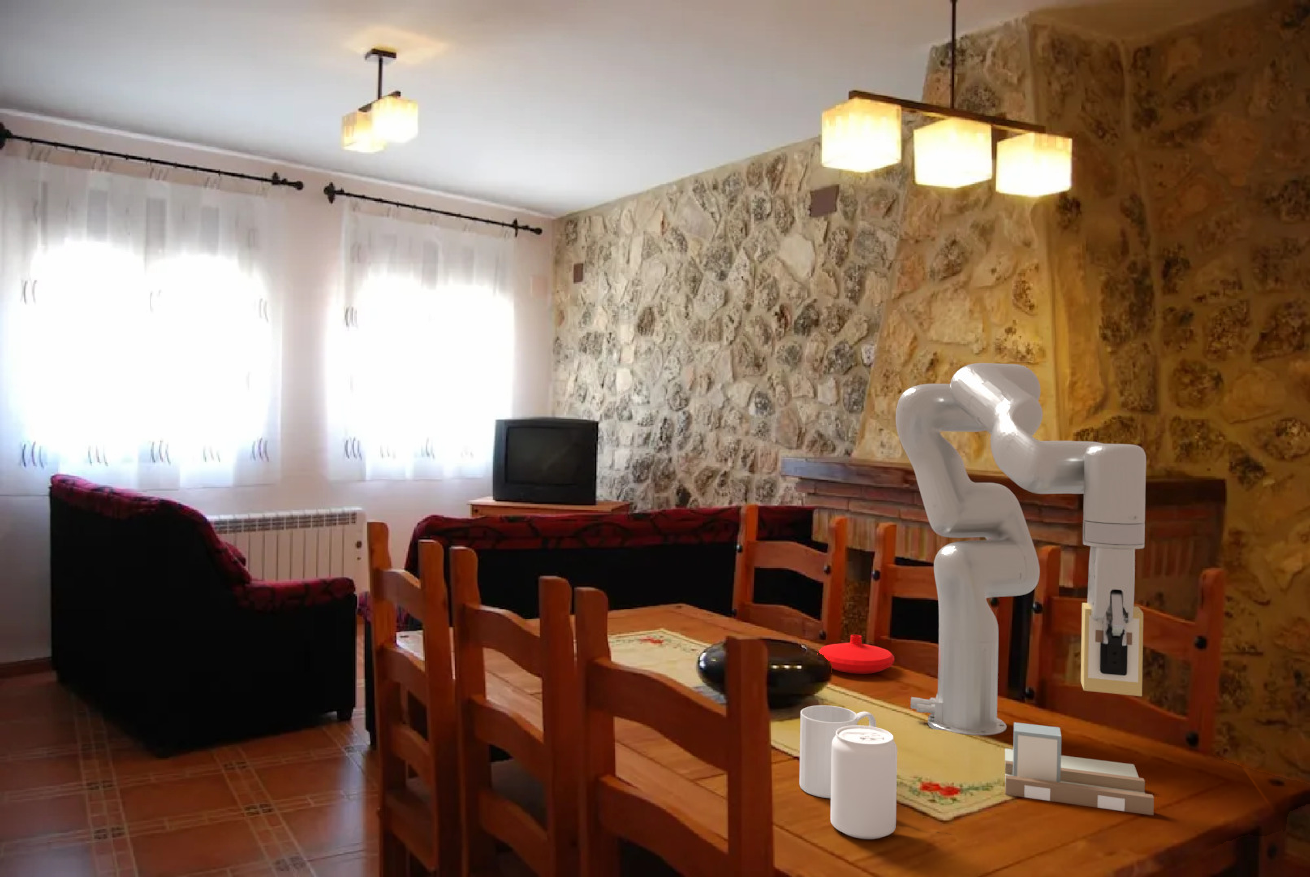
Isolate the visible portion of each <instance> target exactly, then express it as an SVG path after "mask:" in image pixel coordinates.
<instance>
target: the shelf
mask: <svg viewBox="0 0 1310 877" xmlns="http://www.w3.org/2000/svg"><path fill="white" fill-rule="evenodd" d="M1004 778H1005V779H1004V782H1005V787H1004V788H1005V792H1004V794H1005V795H1007V796H1013V797H1021V798H1027V799H1034V800H1042V801H1048V802H1057V803H1064V804H1070V805H1077V806H1085V807H1093V808H1099V809H1106V810H1112V811H1121V812H1127V813H1134V814H1142V815H1147V816H1154V812H1155V810H1154V808H1155V802H1154V801H1155V797H1154V795H1153V794H1150V793H1146V792H1145V790H1146V789H1145V787H1146V781H1145V779H1144V778H1143V777H1139V775H1138V772H1137V769H1136V767H1135V764H1133V763H1125V762H1124V763H1123V762H1118V761H1111V760H1110V761H1109V760H1101V759H1093V758H1084V757H1078V756H1077V757H1075V756H1070V755H1063V754H1061V778H1060V782H1054V781H1046V780H1039V779H1032V778H1024V777H1017V776H1013V748H1012V749H1011V748H1004Z"/></svg>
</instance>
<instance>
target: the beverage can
mask: <svg viewBox="0 0 1310 877" xmlns="http://www.w3.org/2000/svg"><path fill="white" fill-rule="evenodd" d="M897 775H898V746H897V744H896V742H895V741H894V735H893V734H892V733H891V732H890V731H888V730H887V729H884V728H880V727H877V726H876V727H872V726H869V725H862V724H861V725H860V724H859V725H858V724H857V725H852V726H845V727H841V728H839V729H838V730H837V731H836V736H835V737H834V738H833V740H832V756H831V798H830V823H831V825H832V826H833V827H834V828H835V829H836V830H838V831H839V832H842V833H843V834H845V835H847V836H849V837H852V838H856V839H861V840H875V839H881V838H883V837H886V836H889V835H891V834H892V833H894V831H895V830H896V826H897V789H898V788H897V785H898V784H897V781H898V779H897V778H898V776H897Z"/></svg>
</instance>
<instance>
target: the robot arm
mask: <svg viewBox="0 0 1310 877" xmlns="http://www.w3.org/2000/svg"><path fill="white" fill-rule="evenodd" d="M1040 397H1041V384H1040V381H1039V379H1038V376H1037V375H1036V373H1035V372H1033V370H1031V369H1030V368H1028V367H1027V366H1025V365H1022V364H1019V363H1018V364H1017V363H1014V364H1013V363H993V362H991V363H990V362H976V363H971V364H970V363H969V364H966V365H964V366H962V367H961V368H960V369H958V370H957V371H955V373H954V374H953V376H952V378H951V379H950V383H923V384H917V385H914V386H911V387H910V388H907V389H906V390H904V392H903V393H901V395H900V396H899V398H898V401H897V405H896V410H895V427H896V433H897V436H898V439H899V441H900V444H901V445H902V446H901V447H902V448H903V451H904V452H905V454H906V456H907V458H908V459H909V462H910V465H911V466H912V468H913V471H914V474H915V478H916V483H917V486H918V488H919V489H918V490H919V492H920V496H921V499H922V503H923V507H924V509H925V512H926V516H927V520H928V522H929V525H930V527H931V529H932V530H933V532H934V533H936V535H939V536H940V537H944V538H953V539H954V538H956V539H957V538H958V539H960V538H961V539H963V538H985V539H982V540H981V539H978V540H959V541H954V542H951V543H948V544H946V545H944V546H943V547H941V548H940V549H939V551H937V554H935V558H934V560H933V573H934V574H933V575H934V580H935V587H936V594H937V600H938V661H937V662H938V663H937V664H938V669H937V670H938V671H937V672H938V673H937V693H936V694H935V695H936V696H935V697H930V698H929V699H928V698H927V699H926V698H922V697H915V696H914V697H913V696H911V697H910V709H914V710H916V713H922V714H923V713H927V714H929V715H928V716H927V724H928V726H929V728H930V729H933V730H937V731H947V732H951V733H955V734H959V735H969V736H993V735H997V734H1001V733H1003V732H1005V731H1006V730H1007V728H1008V727H1007V723H1005V722H1004V721H1003V720H1002V719H1000V718H998V684H999V683H998V681H999V680H998V679H999V676H998V674H999V624H998V620H997V617H996V615H995V613H994V612H993V610H992V608H991V607H990V605H989V603H988V601H987V599H989V598H990V599H991V598H999V597H1017V596H1018V597H1019V596H1023V595H1027V594H1029V593H1031V592H1032V591H1033V590H1035V588H1036V587H1037V585H1038V583H1039V580H1040V573H1041V572H1040V571H1041V570H1040V569H1041V568H1040V562H1039V558H1038V555H1037V552H1036V547H1035V546H1034V541H1033V539H1032V537H1031V533H1030V530H1029V526H1028V524H1027V522H1026V518H1025V516H1024V513H1023V510H1022V507H1021V505H1020V502H1019V500H1018V498H1017V497H1016V495H1015V494H1014V493H1013V492H1012V491H1011V489H1010V488H1008V487H1007V486H1005V485H1003V484H1000V483H995V482H974V481H972V480H971V479H970V477H969V475H968V473H967V471H966V467H965V466H966V465H965V464H964V463H965V462H964V460H963V458H962V456H961V455H960V452H958V450H957V449H956V448H955V447H954V445H953V444H952V443H951V442H950V441H949V440H947V439H946V438H945V437H944V436H942V434H941V432H950V433H951V432H954V433H956V432H957V433H958V432H962V433H964V432H967V433H968V432H970V433H971V432H972V433H975V432H976V433H977V432H978V433H979V432H984V431H985V432H988V433H989V434H990V449H991V454H992V458H993V460H994V463H995V464H996V466H997V468H998V469H999V470H1001V472H1002V473H1004V475H1006V476H1007V477H1008V478H1009V479H1010V480H1011V481H1012V482H1013V483H1015V484H1016V485H1017V486H1018V487H1020V488H1022V489H1023V490H1026V491H1027V492H1030V493H1033V494H1040V495H1050V494H1051V495H1052V494H1053V495H1055V494H1060V495H1061V494H1070V495H1071V494H1072V495H1081V494H1083V514H1082V517H1083V520H1082V544H1083V545H1084V546H1088V547H1089V548H1090V549H1089V558H1088V577H1087V578H1088V580H1087V581H1088V582H1087V599H1086V601H1087V602H1086V603H1088V605H1089V607H1090V609H1091V618H1092V619H1093V620H1094V621H1097V620H1098V618H1103V621H1102V623H1103V643H1100V671H1101V673H1103V674H1112V675H1123V676H1125V675H1126V674H1127V650H1128V646H1127V645H1126V643H1127V641H1126V623H1129V622H1131V621H1132V619H1133V607H1134V606H1135V605H1134V603H1135V584H1136V582H1135V580H1136V579H1135V574H1136V573H1135V572H1136V569H1135V568H1136V567H1135V566H1136V561H1135V560H1136V555H1135V554H1136V553H1135V552H1136V550H1140V549H1144V548H1145V541H1146V540H1145V537H1146V536H1145V535H1146V532H1145V531H1146V529H1145V528H1146V525H1145V524H1146V523H1145V522H1146V484H1147V483H1146V481H1147V480H1146V479H1147V474H1146V473H1147V455H1146V452H1145V450H1144V448H1143V447H1141V446H1140V445H1137V444H1136V445H1135V444H1130V443H1129V444H1126V443H1102V442H1099V441H1088V440H1086V441H1082V440H1077V441H1075V440H1039V439H1036V438H1035V437H1033V436H1034V435H1035V433H1036V432H1037V431H1038V430H1039V428H1040V427H1041V424H1042V421H1043V409H1042V405H1041V403H1040V402H1039V400H1040ZM1126 613H1128V617H1126ZM1106 616H1112V620H1106ZM1126 620H1128V621H1126ZM1108 625H1111V626H1112V627H1110V626H1109V629H1108Z"/></svg>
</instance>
